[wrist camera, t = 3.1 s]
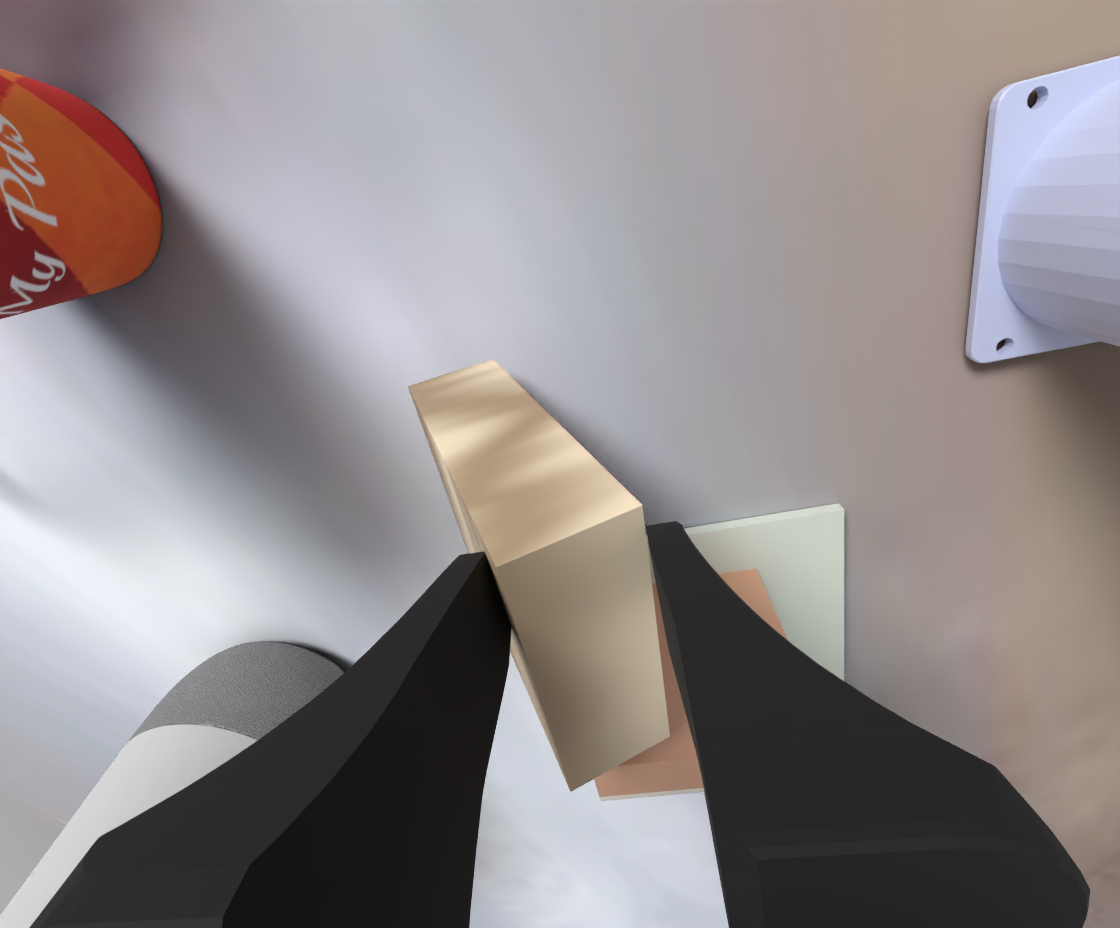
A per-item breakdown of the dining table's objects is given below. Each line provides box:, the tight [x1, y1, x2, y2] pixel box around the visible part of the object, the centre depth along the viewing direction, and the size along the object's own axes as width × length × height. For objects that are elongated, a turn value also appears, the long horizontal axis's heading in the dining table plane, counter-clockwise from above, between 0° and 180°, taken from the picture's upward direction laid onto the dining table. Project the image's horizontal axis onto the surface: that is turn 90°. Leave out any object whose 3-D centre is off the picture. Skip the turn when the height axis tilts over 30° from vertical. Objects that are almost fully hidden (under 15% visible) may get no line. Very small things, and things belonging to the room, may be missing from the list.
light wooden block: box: [408, 359, 670, 791], centre depth 16 cm, size 3×8×10 cm, turn 10°
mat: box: [646, 503, 844, 681], centre depth 25 cm, size 14×13×1 cm
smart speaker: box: [0, 641, 345, 928], centre depth 21 cm, size 10×9×14 cm
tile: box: [594, 569, 788, 801], centre depth 19 cm, size 7×2×8 cm, turn 103°
